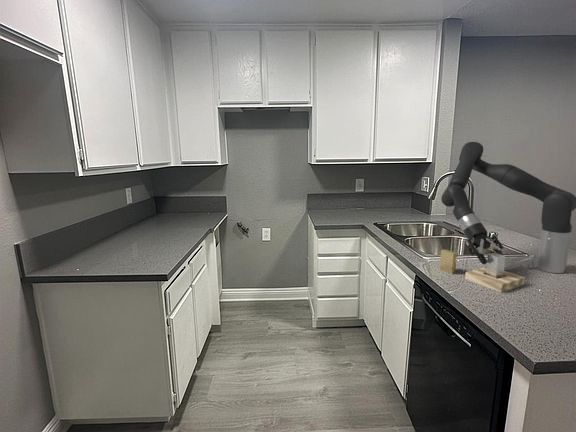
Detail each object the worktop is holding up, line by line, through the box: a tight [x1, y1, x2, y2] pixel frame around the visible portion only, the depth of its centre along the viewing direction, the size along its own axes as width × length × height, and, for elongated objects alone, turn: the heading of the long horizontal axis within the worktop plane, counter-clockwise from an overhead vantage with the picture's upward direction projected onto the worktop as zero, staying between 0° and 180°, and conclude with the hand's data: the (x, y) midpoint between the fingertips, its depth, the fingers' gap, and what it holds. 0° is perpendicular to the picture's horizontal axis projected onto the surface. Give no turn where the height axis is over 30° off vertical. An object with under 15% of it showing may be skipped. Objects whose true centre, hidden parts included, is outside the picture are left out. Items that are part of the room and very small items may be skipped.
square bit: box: [486, 252, 506, 279], centre depth 119 cm, size 4×4×11 cm
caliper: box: [504, 254, 537, 271], centre depth 131 cm, size 20×1×6 cm, turn 100°
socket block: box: [464, 266, 526, 293], centre depth 120 cm, size 14×14×3 cm
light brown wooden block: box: [439, 249, 458, 275], centre depth 131 cm, size 2×6×9 cm, turn 24°
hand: (494, 261), depth 120 cm, fingers open, 8 cm apart
